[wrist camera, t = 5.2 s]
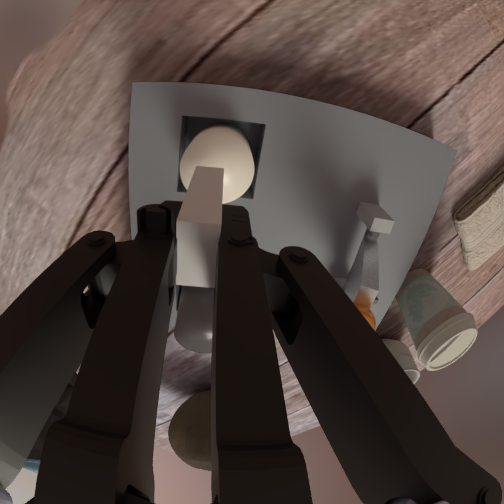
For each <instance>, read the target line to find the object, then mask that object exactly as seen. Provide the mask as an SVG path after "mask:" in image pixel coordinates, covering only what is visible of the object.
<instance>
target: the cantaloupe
mask: <svg viewBox="0 0 504 504" xmlns="http://www.w3.org/2000/svg"><path fill="white" fill-rule="evenodd" d="M168 436H169V441H170V444H171V446H172V448H173V450H174V451H175V453H176V454H177V455H178V457H179V458H180V459H181V460H183V461H184V462H185V463H187V464H188V465H190V466H192V467H195V468H198V469H203V470H208V471H212V468H211V389H210V390H206V391H202V392H199V393H197V394H195V395H193V396H192V397H190V398H189V399H188V400H186V401H185V402H184V403H183V404H182V405H181V406H180V407H179V408H178V409H177V411H176V412H175V414H174V416H173V418H172V420H171V422H170V425H169V430H168Z"/></svg>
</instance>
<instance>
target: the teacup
mask: <svg viewBox="0 0 504 504" xmlns="http://www.w3.org/2000/svg"><path fill="white" fill-rule="evenodd" d="M381 340H382V341H383V342H384V344H385V345H386V346H387V348H388V349H389V351H390V352H391V353H392V355H393V356H394V357H395V359H396V360H397V361H398V363H399V364H400V366H401V367H402V368H403V370H404V371H405V373H406V374H407V375H408V377H409V378H410V380H411V381H412V382H413V384H415V383H416V382H417V380H418V379H419V376H420V372H419V370H418V369H417V367H416V364H415V362H414V359H413V357H412V355H411V353H410V351H409V349H408V347H407V346H406V345H405V344H404V343H403V342H401V341H398V340H392V339H381Z"/></svg>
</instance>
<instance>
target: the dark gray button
mask: <svg viewBox="0 0 504 504" xmlns="http://www.w3.org/2000/svg"><path fill="white" fill-rule="evenodd" d="M213 298H214V288H208V287H196V286H184V285H183V286H182V291H181V296H180V301H179V307H178V312H177V318H176V324H175V330H174V335H175V338H176V340H177V341H178V343H179V344H180V345H182V346H183V347H185V348H186V349H189V350H191V351H194V352H199V353H212V326H213V312H212V310H213Z"/></svg>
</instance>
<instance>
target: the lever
mask: <svg viewBox="0 0 504 504" xmlns="http://www.w3.org/2000/svg"><path fill="white" fill-rule="evenodd" d="M379 234H380V233H379V232H373V231H369V229H368V228H367V229H366V232H365V234H364V237H363V240H362V242H361V245H360V247H359V250H358V253H357V255H356V258H355V260H354V263H353V265H352V267H351V270H350V272H349V275H348V277H347V279H346V282H345V284H344V286H343V288H344V292H345V293H346V294H347V295H348V297H349V298H350V299H351V301H352V302H353V303H354V304H355V306H356V307H357V308H358V310H359V311H360V312H361V313H362V315H363V316H364V317H365V319H366V320H367V321H368V323H369V324H370V325H371V326H372V328H373V329H374V330H375V327H376V321H375V317H374V314H373V313H372V311H371V310H370V307H371V305H372V304H373V302H374V300H375V298H376V296H377V294H378V292H379V264H378V242H377V239H378V237H379Z"/></svg>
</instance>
